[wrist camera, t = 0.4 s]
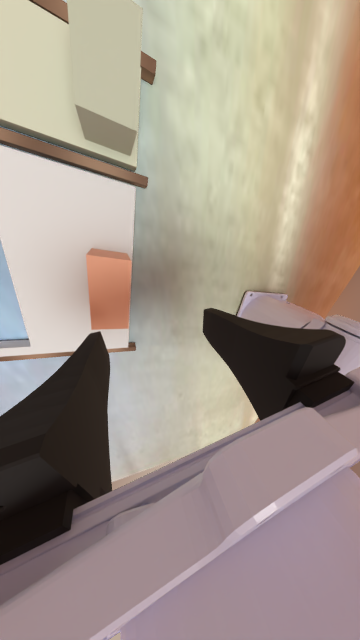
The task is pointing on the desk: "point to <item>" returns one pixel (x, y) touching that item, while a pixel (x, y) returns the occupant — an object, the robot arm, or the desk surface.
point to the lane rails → (58, 8)
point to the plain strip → (73, 76)
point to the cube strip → (66, 253)
